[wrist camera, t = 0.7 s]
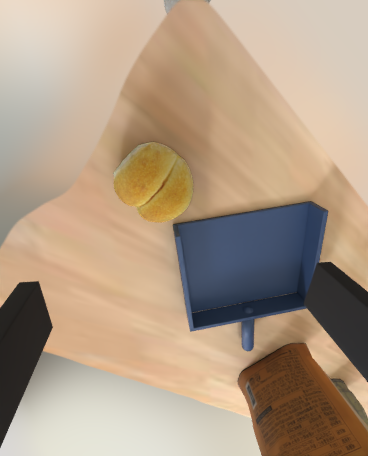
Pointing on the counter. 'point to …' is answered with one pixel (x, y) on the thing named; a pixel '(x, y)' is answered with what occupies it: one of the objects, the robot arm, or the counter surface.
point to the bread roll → (154, 182)
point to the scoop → (249, 264)
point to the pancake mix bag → (300, 408)
